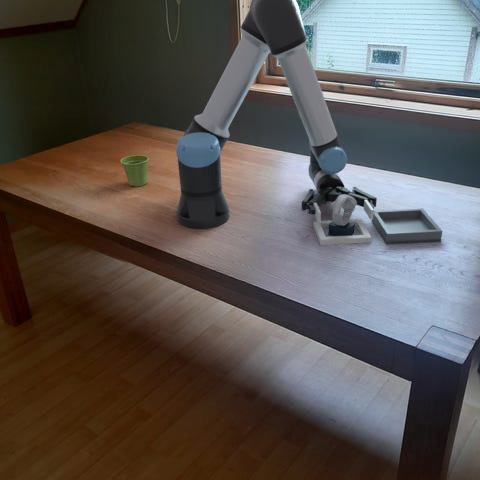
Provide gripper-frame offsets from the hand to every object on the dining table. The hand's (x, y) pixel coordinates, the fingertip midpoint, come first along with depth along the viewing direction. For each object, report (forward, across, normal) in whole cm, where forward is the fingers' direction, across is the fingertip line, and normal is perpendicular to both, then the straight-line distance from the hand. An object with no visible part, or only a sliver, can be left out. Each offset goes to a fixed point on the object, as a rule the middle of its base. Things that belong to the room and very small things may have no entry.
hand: (345, 216), depth 132 cm
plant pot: (-48, +60, -7) cm, 77 cm away
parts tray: (-2, -17, -6) cm, 18 cm away
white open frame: (-3, 0, -6) cm, 7 cm away
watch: (-3, 0, -7) cm, 7 cm away
